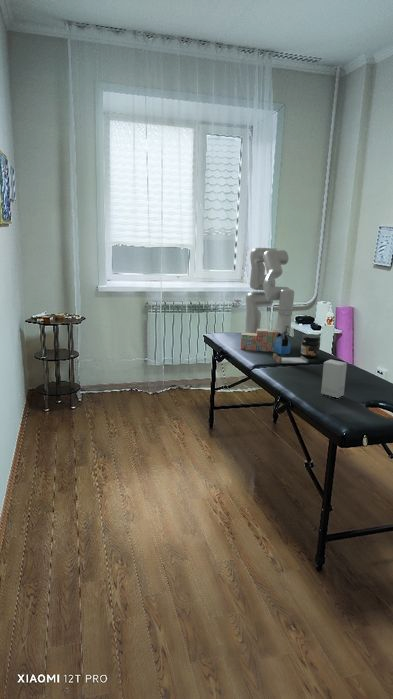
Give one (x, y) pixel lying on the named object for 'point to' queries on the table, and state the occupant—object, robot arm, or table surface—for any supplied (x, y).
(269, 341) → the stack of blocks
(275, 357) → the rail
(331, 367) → the skincare box
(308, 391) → the table surface
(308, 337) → the supplement container
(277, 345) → the perfume bottle
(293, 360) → the mat
